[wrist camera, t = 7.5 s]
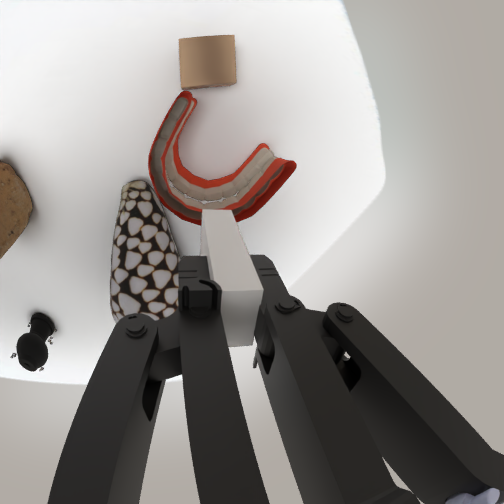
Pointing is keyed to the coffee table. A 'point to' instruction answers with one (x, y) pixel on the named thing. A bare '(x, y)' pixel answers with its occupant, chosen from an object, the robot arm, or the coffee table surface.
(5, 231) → the brown rock
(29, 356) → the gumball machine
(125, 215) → the seashell
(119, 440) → the robot arm
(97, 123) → the coffee table surface
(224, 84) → the walnut block
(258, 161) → the toy
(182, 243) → the coffee table surface
